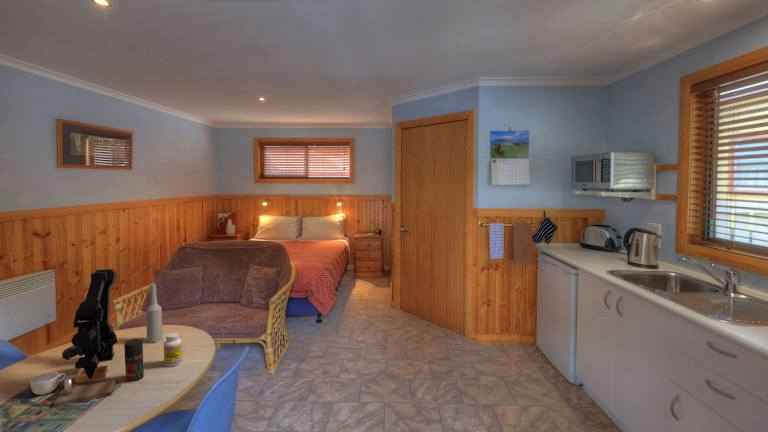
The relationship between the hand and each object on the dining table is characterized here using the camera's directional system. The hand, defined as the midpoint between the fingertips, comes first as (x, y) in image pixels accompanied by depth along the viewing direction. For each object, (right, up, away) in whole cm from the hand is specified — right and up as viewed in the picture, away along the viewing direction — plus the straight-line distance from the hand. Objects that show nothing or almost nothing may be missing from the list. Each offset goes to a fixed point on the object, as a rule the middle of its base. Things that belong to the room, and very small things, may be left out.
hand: (92, 374), depth 145 cm
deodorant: (+17, -2, 0) cm, 17 cm away
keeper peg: (+3, -1, -14) cm, 15 cm away
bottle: (+3, +2, +35) cm, 35 cm away
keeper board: (+7, -2, -12) cm, 14 cm away
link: (0, -1, 0) cm, 1 cm away
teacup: (-9, -2, -9) cm, 13 cm away
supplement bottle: (+25, -1, +12) cm, 28 cm away
